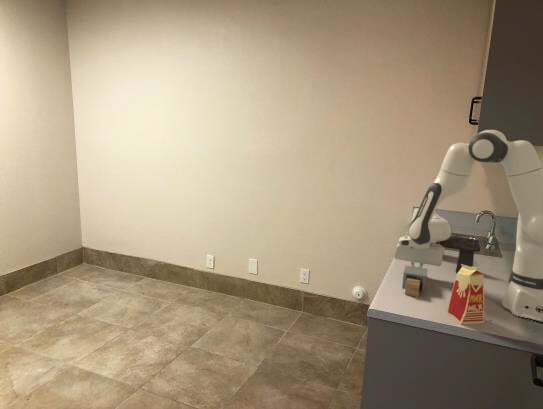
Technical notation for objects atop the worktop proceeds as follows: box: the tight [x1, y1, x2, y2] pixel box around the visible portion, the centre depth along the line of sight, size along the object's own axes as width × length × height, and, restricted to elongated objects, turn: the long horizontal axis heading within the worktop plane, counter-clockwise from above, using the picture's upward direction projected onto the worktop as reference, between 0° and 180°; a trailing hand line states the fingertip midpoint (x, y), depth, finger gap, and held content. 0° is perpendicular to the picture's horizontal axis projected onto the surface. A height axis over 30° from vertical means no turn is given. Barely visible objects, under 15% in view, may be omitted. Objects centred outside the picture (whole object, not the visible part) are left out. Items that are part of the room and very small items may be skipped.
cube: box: [404, 278, 421, 298], centre depth 158 cm, size 5×5×5 cm
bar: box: [404, 275, 419, 290], centre depth 169 cm, size 18×4×4 cm, turn 157°
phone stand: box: [455, 244, 476, 274], centre depth 183 cm, size 9×6×12 cm, turn 146°
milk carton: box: [446, 264, 486, 325], centre depth 138 cm, size 9×9×20 cm
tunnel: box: [401, 264, 428, 293], centre depth 165 cm, size 9×9×7 cm
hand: (416, 271), depth 177 cm, fingers closed
